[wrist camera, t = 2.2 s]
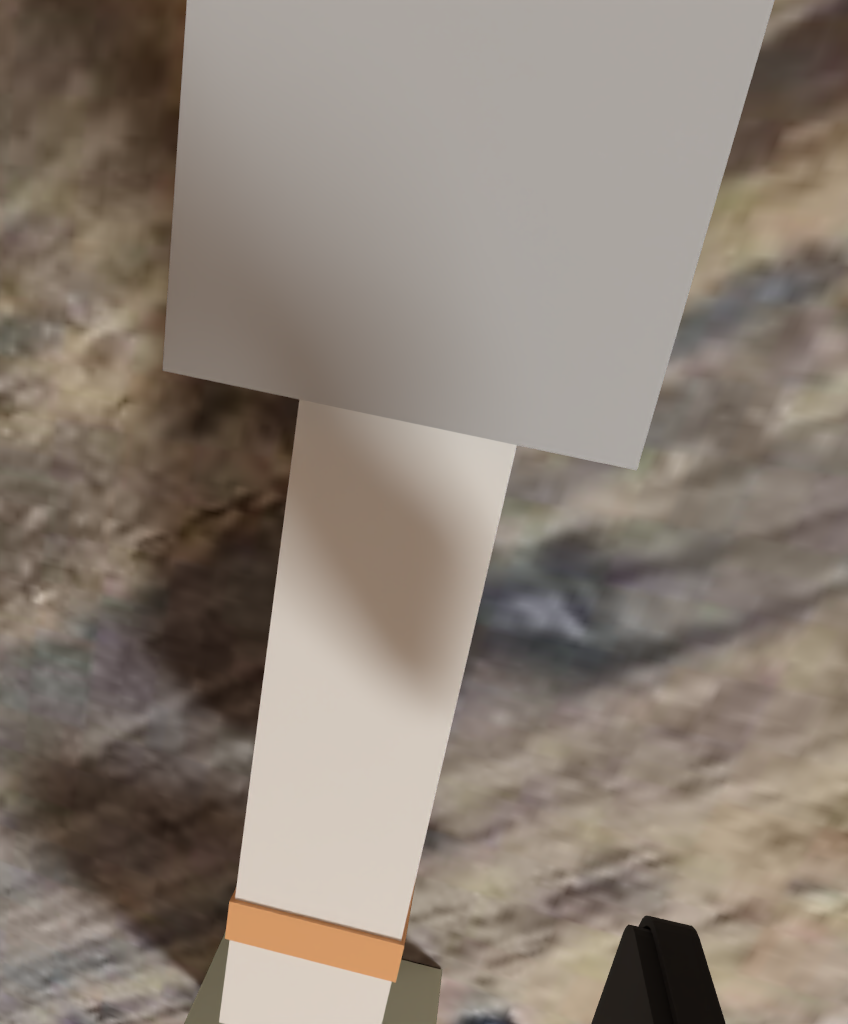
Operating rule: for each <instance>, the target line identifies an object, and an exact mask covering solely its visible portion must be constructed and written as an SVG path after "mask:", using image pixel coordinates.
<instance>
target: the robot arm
mask: <svg viewBox="0 0 848 1024" xmlns="http://www.w3.org/2000/svg"><path fill="white" fill-rule="evenodd" d="M592 1024H725V1020H724V1017H723V1014H722V1011H721V1007H720V1004H719V1001H718V998H717V994H716V991H715V988H714V984H713V981H712V978H711V975H710V971H709V968H708V965H707V962H706V958H705V955H704V952H703V949H702V945H701V942H700V939H699V936H698V934H697V932H696V930H695V929H694V928H693V927H692V926H690V925H685V924H681V923H677V922H672V921H668V920H664V919H660V918H655V917H651V916H645V917H644V918H643V919H642V921H641V923H640V925H639V927H637V926H633V925H628V926H627V927H626V928H625V930H624V932H623V935H622V938H621V941H620V944H619V947H618V950H617V952H616V955H615V958H614V961H613V964H612V967H611V969H610V972H609V975H608V978H607V981H606V984H605V987H604V989H603V992H602V995H601V998H600V1001H599V1004H598V1006H597V1009H596V1012H595V1015H594V1018H593V1021H592Z"/></svg>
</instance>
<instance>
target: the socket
mask: <svg viewBox="0 0 848 1024" xmlns="http://www.w3.org/2000/svg"><path fill="white" fill-rule="evenodd" d="M225 933H226V931H225ZM229 941H230V940H228V939H225V934H224V936H223V938H222V940H221V943H220V945H219V947H218V949H217V951H216V954H215V956H214V958H213V960H212V963H211V965H210V967H209V969H208V972H207V974H206V976H205V978H204V981H203V983H202V985H201V987H200V989H199V992H198V994H197V996H196V998H195V1001H194V1003H193V1005H192V1007H191V1010H190V1012H189V1014H188V1016H187V1018H186V1021H185V1023H184V1024H224V1023H220V1022H219V1018H220V1010H221V1002H222V995H223V987H224V979H225V971H226V964H227V956H228V948H229ZM441 976H442V970H441V969H437V968H433V967H429V966H425V965H421V964H417V963H413V962H409V961H405V960H401V962H400V967H399V971H398V975H397V979H396V983H395V982H391V987H390V991H389V995H388V999H387V1004H386V1008H385V1012H384V1017H383V1021H382V1024H436V1022H437V1012H438V1003H439V994H440V985H441Z"/></svg>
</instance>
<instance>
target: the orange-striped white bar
mask: <svg viewBox="0 0 848 1024" xmlns="http://www.w3.org/2000/svg"><path fill="white" fill-rule="evenodd" d="M516 447H517V445H514V444H509V443H504V442H500V441H495V440H490V439H485V438H481V437H476V436H471V435H466V434H462V433H457V432H452V431H447V430H443V429H438V428H433V427H428V426H423V425H419V424H414V423H409V422H404V421H400V420H395V419H390V418H385V417H381V416H376V415H371V414H366V413H362V412H357V411H352V410H347V409H343V408H338V407H333V406H328V405H324V404H319V403H314V402H309V401H304V400H300V399H299V407H298V415H297V422H296V430H295V438H294V445H293V453H292V461H291V469H290V476H289V484H288V492H287V500H286V507H285V515H284V523H283V531H282V538H281V546H280V554H279V561H278V569H277V577H276V585H275V592H274V600H273V608H272V616H271V623H270V631H269V639H268V647H267V654H266V662H265V670H264V678H263V685H262V693H261V701H260V708H259V716H258V724H257V732H256V739H255V747H254V755H253V763H252V770H251V778H250V786H249V794H248V801H247V809H246V817H245V824H244V832H243V840H242V848H241V855H240V863H239V871H238V879H237V886H236V888H235V891H234V893H233V895H232V897H231V899H230V901H229V909H228V917H227V925H226V933H225V939H228V940H230V941H229V948H228V956H227V964H226V971H225V979H224V987H223V995H222V1002H221V1010H220V1018H219V1022H220V1023H224V1024H382V1021H383V1017H384V1012H385V1008H386V1004H387V999H388V995H389V991H390V987H391V982H395V983H396V979H397V975H398V971H399V967H400V962H401V958H402V954H403V950H404V945H405V940H406V934H407V928H408V922H409V916H410V910H411V904H412V899H413V893H414V887H415V881H416V875H417V871H418V867H419V862H420V858H421V854H422V849H423V845H424V841H425V837H426V832H427V828H428V824H429V819H430V815H431V811H432V807H433V802H434V798H435V794H436V789H437V785H438V781H439V777H440V772H441V768H442V764H443V759H444V755H445V751H446V747H447V742H448V738H449V734H450V729H451V725H452V721H453V717H454V712H455V708H456V704H457V700H458V695H459V691H460V687H461V682H462V678H463V674H464V670H465V665H466V661H467V657H468V652H469V648H470V644H471V640H472V635H473V631H474V627H475V622H476V618H477V614H478V610H479V605H480V601H481V597H482V592H483V588H484V584H485V580H486V575H487V571H488V567H489V562H490V558H491V554H492V550H493V545H494V541H495V537H496V532H497V528H498V524H499V520H500V515H501V511H502V507H503V502H504V498H505V494H506V490H507V485H508V481H509V477H510V472H511V468H512V464H513V460H514V455H515V451H516Z"/></svg>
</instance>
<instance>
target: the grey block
mask: <svg viewBox="0 0 848 1024" xmlns="http://www.w3.org/2000/svg"><path fill="white" fill-rule="evenodd" d="M773 3H774V0H187V7H186V22H185V37H184V52H183V68H182V83H181V98H180V113H179V128H178V143H177V159H176V174H175V189H174V204H173V219H172V235H171V250H170V265H169V280H168V295H167V310H166V326H165V341H164V356H163V371H166V372H171V373H176V374H181V375H185V376H190V377H195V378H200V379H204V380H209V381H214V382H219V383H224V384H228V385H233V386H238V387H243V388H247V389H252V390H257V391H262V392H266V393H271V394H276V395H281V396H285V397H290V398H295V399H300V400H304V401H309V402H314V403H319V404H324V405H328V406H333V407H338V408H343V409H347V410H352V411H357V412H362V413H366V414H371V415H376V416H381V417H385V418H390V419H395V420H400V421H404V422H409V423H414V424H419V425H423V426H428V427H433V428H438V429H443V430H447V431H452V432H457V433H462V434H466V435H471V436H476V437H481V438H485V439H490V440H495V441H500V442H504V443H509V444H514V445H519V446H523V447H528V448H533V449H538V450H542V451H547V452H552V453H557V454H562V455H566V456H571V457H576V458H581V459H585V460H590V461H595V462H600V463H604V464H609V465H614V466H619V467H623V468H628V469H633V470H637V468H638V464H639V461H640V457H641V454H642V451H643V447H644V444H645V440H646V437H647V434H648V430H649V427H650V423H651V420H652V416H653V413H654V410H655V406H656V403H657V399H658V396H659V393H660V389H661V386H662V382H663V379H664V376H665V372H666V369H667V365H668V362H669V358H670V355H671V352H672V348H673V345H674V341H675V338H676V335H677V331H678V328H679V324H680V321H681V317H682V314H683V311H684V307H685V304H686V300H687V297H688V294H689V290H690V287H691V283H692V280H693V276H694V273H695V270H696V266H697V263H698V259H699V256H700V253H701V249H702V246H703V242H704V239H705V235H706V232H707V229H708V225H709V222H710V218H711V215H712V212H713V208H714V205H715V201H716V198H717V194H718V191H719V188H720V184H721V181H722V177H723V174H724V171H725V167H726V164H727V160H728V157H729V153H730V150H731V147H732V143H733V140H734V136H735V133H736V130H737V126H738V123H739V119H740V116H741V112H742V109H743V106H744V102H745V99H746V95H747V92H748V89H749V85H750V82H751V78H752V75H753V71H754V68H755V65H756V61H757V58H758V54H759V51H760V48H761V44H762V41H763V37H764V34H765V30H766V27H767V24H768V20H769V17H770V13H771V10H772V7H773Z"/></svg>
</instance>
